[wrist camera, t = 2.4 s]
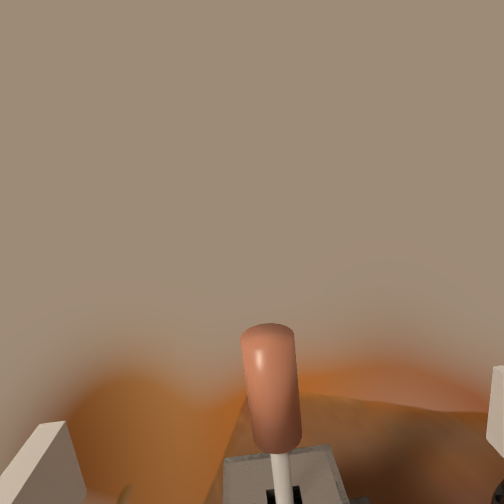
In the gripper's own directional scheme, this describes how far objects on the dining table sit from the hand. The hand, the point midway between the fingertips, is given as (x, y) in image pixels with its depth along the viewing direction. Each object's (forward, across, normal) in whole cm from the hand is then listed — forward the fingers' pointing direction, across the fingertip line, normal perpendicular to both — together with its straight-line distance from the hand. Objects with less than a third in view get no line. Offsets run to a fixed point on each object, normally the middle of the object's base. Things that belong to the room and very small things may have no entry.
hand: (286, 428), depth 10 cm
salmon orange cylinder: (+12, 0, -27) cm, 30 cm away
